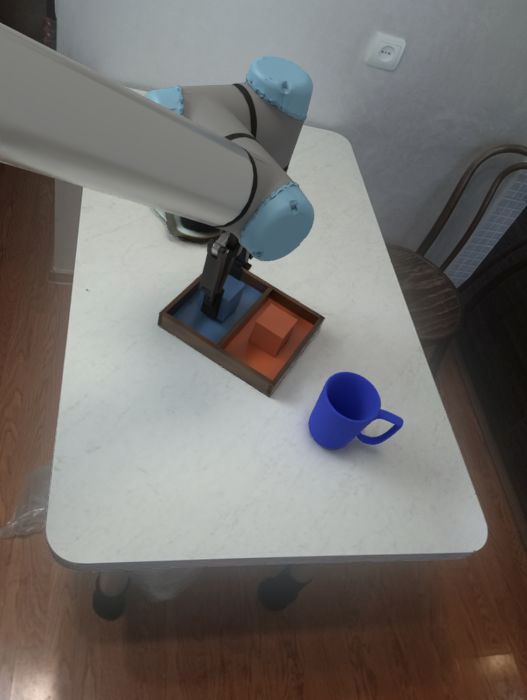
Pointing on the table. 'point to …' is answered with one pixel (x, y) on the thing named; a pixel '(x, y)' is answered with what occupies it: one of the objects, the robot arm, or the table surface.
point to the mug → (348, 412)
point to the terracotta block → (272, 330)
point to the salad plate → (189, 228)
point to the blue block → (227, 297)
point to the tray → (242, 331)
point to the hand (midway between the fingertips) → (218, 304)
